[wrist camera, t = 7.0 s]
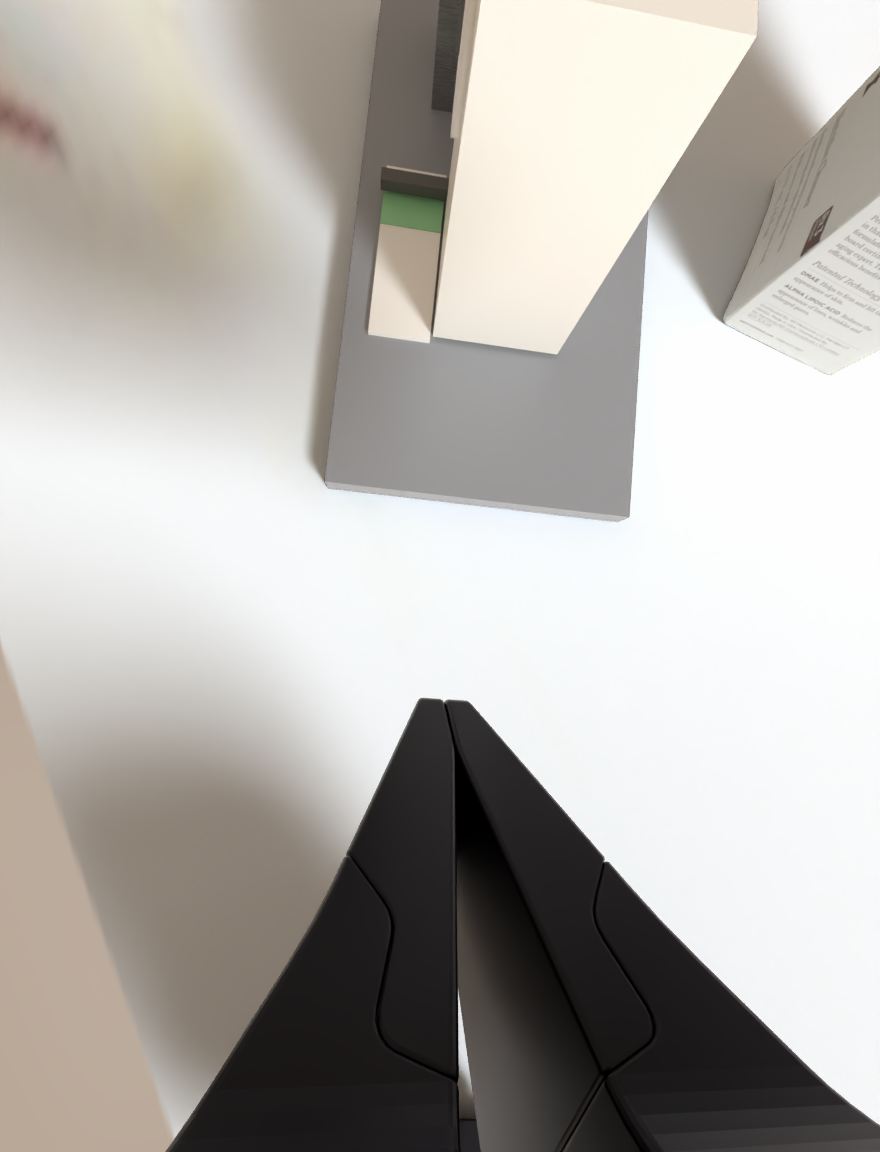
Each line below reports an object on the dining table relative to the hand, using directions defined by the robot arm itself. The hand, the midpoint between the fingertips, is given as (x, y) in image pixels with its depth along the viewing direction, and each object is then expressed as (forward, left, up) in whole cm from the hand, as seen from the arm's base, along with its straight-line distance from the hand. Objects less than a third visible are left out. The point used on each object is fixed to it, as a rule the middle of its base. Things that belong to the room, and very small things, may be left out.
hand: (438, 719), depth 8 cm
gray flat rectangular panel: (+17, -2, -11) cm, 20 cm away
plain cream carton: (+17, -1, -10) cm, 20 cm away
